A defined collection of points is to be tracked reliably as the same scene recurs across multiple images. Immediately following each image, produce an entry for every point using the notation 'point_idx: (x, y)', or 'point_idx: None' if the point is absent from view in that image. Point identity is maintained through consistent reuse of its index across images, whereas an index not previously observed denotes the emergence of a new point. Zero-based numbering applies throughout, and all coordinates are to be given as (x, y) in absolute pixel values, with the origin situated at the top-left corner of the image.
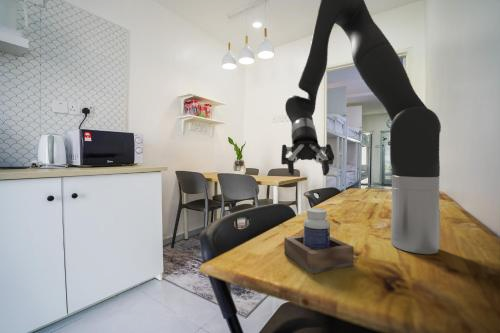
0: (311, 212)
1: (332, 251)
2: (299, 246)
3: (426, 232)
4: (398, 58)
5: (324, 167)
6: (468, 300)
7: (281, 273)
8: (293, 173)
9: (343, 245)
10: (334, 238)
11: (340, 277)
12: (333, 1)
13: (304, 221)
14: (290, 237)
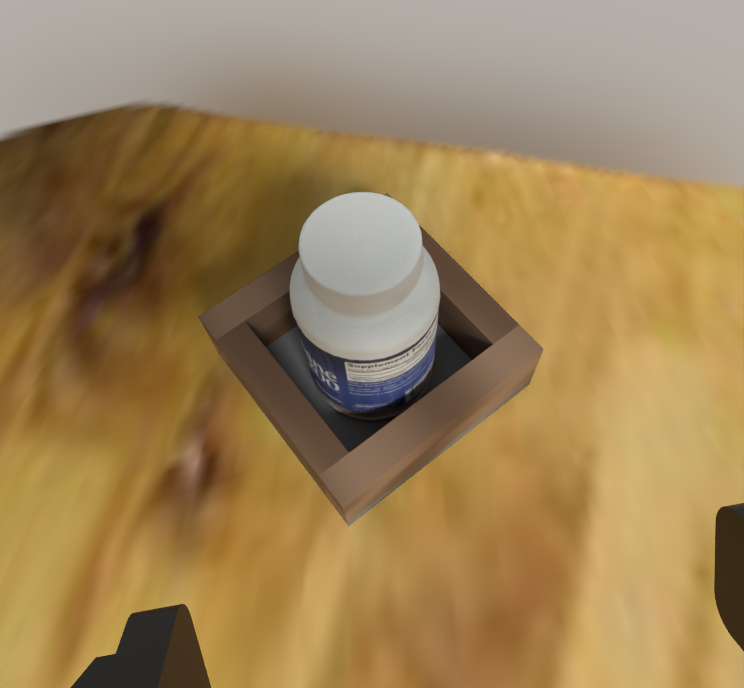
0: (391, 201)
1: None
2: (445, 253)
3: None
4: None
5: (163, 643)
6: None
7: (494, 213)
8: (719, 560)
9: (241, 322)
10: (270, 411)
11: (289, 244)
12: None
13: (434, 268)
14: (510, 356)
